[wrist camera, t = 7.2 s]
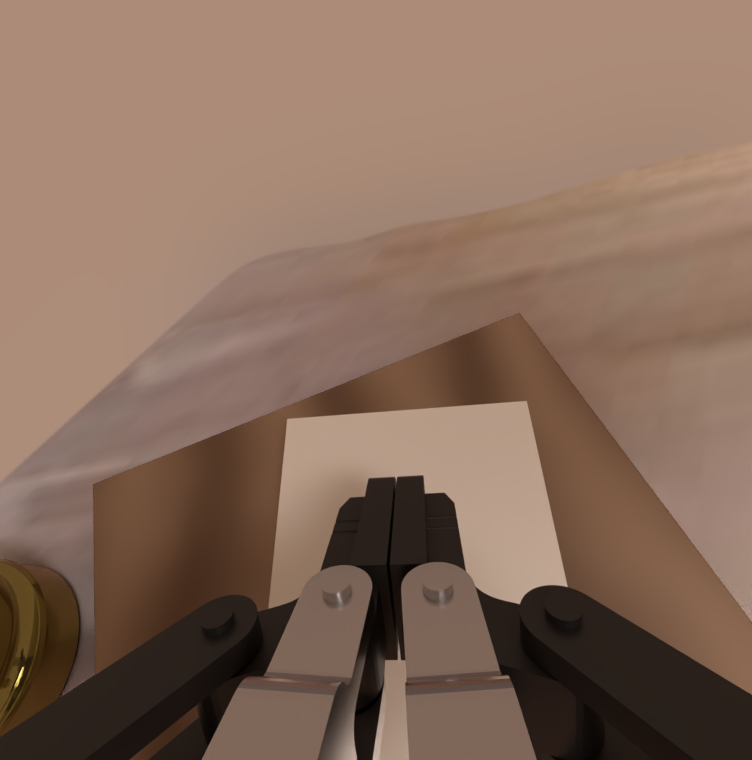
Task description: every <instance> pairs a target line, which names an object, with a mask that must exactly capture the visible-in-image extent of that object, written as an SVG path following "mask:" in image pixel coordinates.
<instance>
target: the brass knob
mask: <svg viewBox="0 0 752 760" xmlns="http://www.w3.org/2000/svg"><path fill="white" fill-rule="evenodd" d="M78 635H79V616H78V609H77V604H76V601H75V597H74V595H73V593H72V590H71V589H70V587H69V585H68V584H67V583H66V581H65V580H64V579H63V578H62V577H61V576H60V575H58V574H57V573H56V572H54V571H52V570H50V569H48V568H45V567H41V566H36V565H28V564H20V563H16V562H13V561H10V560H6V559H0V737H1V736H2V735H4V734H5V733H7V732H8V731H10V730H11V729H13V728H14V727H16V726H18V725H19V724H21V723H22V722H24V721H25V720H27V719H28V718H30V717H31V716H33V715H34V714H36V713H38V712H39V711H41V710H42V709H44V708H45V707H47V706H48V705H50V704H51V703H53V702H54V701H56V700H57V699H58V697H59V695H60V693H61V691H62V689H63V687H64V685H65V683H66V681H67V678H68V675H69V673H70V670H71V667H72V664H73V661H74V657H75V653H76V648H77V643H78Z"/></svg>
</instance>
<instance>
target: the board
mask: <svg viewBox="0 0 752 760" xmlns="http://www.w3.org/2000/svg"><path fill="white" fill-rule="evenodd" d="M519 401H527V404H528V409H529V413H530V418H531V422H532V427H533V432H534V436H535V441H536V445H537V450H538V454H539V459H540V463H541V468H542V472H543V477H544V482H545V486H546V491H547V495H548V500H549V504H550V509H551V513H552V518H553V523H554V527H555V532H556V536H557V541H558V545H559V550H560V554H561V559H562V563H563V568H564V573H565V577H566V582H567V586H568V587H569V588H572V589H575V590H578V591H580V592H582V593H584V594H586V595H588V596H589V597H591V598H593V599H594V600H596V601H598V602H599V603H601V604H603V605H604V606H606V607H608V608H609V609H611V610H613V611H614V612H616V613H617V614H619V615H621V616H622V617H624V618H626V619H627V620H629V621H631V622H632V623H634V624H636V625H637V626H639V627H641V628H642V629H644V630H646V631H647V632H649V633H651V634H652V635H654V636H655V637H657V638H659V639H660V640H662V641H664V642H665V643H667V644H669V645H670V646H672V647H674V648H675V649H677V650H679V651H680V652H682V653H684V654H685V655H687V656H689V657H690V658H692V659H694V660H695V661H697V662H698V663H700V664H702V665H703V666H705V667H707V668H708V669H710V670H712V671H713V672H715V673H717V674H718V675H720V676H722V677H723V678H725V679H727V680H728V681H730V682H732V683H733V684H735V685H736V686H738V687H740V688H741V689H743V690H745V691H746V692H748V693H750V694H751V695H752V622H751V620H750V619H749V618H748V616H747V615H746V614H745V612H744V611H743V610H742V608H741V607H740V606H739V604H738V603H737V602H736V600H735V599H734V598H733V596H732V595H731V594H730V592H729V591H728V590H727V588H726V587H725V586H724V585H723V583H722V582H721V581H720V579H719V578H718V577H717V575H716V574H715V573H714V571H713V570H712V569H711V567H710V566H709V565H708V563H707V562H706V561H705V559H704V558H703V557H702V555H701V554H700V553H699V551H698V550H697V549H696V547H695V546H694V545H693V543H692V542H691V541H690V539H689V538H688V537H687V535H686V534H685V533H684V531H683V530H682V529H681V527H680V526H679V525H678V523H677V522H676V521H675V519H674V518H673V517H672V515H671V514H670V513H669V511H668V510H667V509H666V507H665V506H664V505H663V503H662V502H661V501H660V499H659V498H658V497H657V495H656V494H655V493H654V491H653V490H652V489H651V487H650V486H649V485H648V483H647V482H646V481H645V479H644V478H643V477H642V475H641V474H640V473H639V471H638V470H637V469H636V467H635V466H634V465H633V463H632V462H631V461H630V459H629V458H628V457H627V455H626V454H625V453H624V451H623V450H622V449H621V447H620V446H619V445H618V443H617V442H616V441H615V439H614V438H613V437H612V435H611V434H610V433H609V431H608V430H607V429H606V427H605V426H604V425H603V423H602V422H601V421H600V419H599V418H598V417H597V415H596V414H595V413H594V411H593V410H592V409H591V407H590V406H589V405H588V403H587V402H586V401H585V399H584V398H583V397H582V395H581V394H580V393H579V391H578V390H577V389H576V387H575V386H574V385H573V383H572V382H571V381H570V379H569V378H568V377H567V375H566V374H565V373H564V371H563V370H562V369H561V367H560V366H559V365H558V363H557V362H556V361H555V360H554V358H553V357H552V356H551V354H550V353H549V352H548V350H547V349H546V348H545V346H544V345H543V344H542V342H541V341H540V340H539V338H538V337H537V336H536V334H535V333H534V332H533V330H532V329H531V328H530V326H529V325H528V324H527V322H526V321H525V320H524V318H523V317H522V316H521V314H520V313H518V314H515V315H513V316H511V317H508V318H506V319H503V320H501V321H498V322H496V323H493V324H491V325H488V326H486V327H483V328H481V329H478V330H476V331H473V332H471V333H468V334H466V335H463V336H461V337H458V338H456V339H453V340H451V341H448V342H446V343H443V344H441V345H438V346H436V347H433V348H431V349H429V350H426V351H424V352H421V353H419V354H416V355H414V356H411V357H409V358H406V359H404V360H401V361H399V362H396V363H394V364H391V365H389V366H386V367H384V368H381V369H379V370H376V371H374V372H371V373H369V374H366V375H364V376H361V377H359V378H356V379H354V380H351V381H349V382H347V383H344V384H342V385H339V386H337V387H334V388H332V389H329V390H327V391H324V392H322V393H319V394H317V395H314V396H312V397H309V398H307V399H304V400H302V401H299V402H297V403H294V404H292V405H289V406H287V407H284V408H282V409H279V410H277V411H274V412H272V413H269V414H267V415H265V416H262V417H260V418H257V419H255V420H252V421H250V422H247V423H245V424H242V425H240V426H237V427H235V428H232V429H230V430H227V431H225V432H222V433H220V434H217V435H215V436H212V437H210V438H207V439H205V440H202V441H200V442H197V443H195V444H192V445H190V446H187V447H185V448H183V449H180V450H178V451H175V452H173V453H170V454H168V455H165V456H163V457H160V458H158V459H155V460H153V461H150V462H148V463H145V464H143V465H140V466H138V467H135V468H133V469H130V470H128V471H125V472H123V473H120V474H118V475H115V476H113V477H110V478H108V479H105V480H103V481H101V482H98V483H96V484H93V507H94V616H95V675H96V674H98V673H99V672H101V671H102V670H104V669H105V668H107V667H108V666H110V665H111V664H113V663H114V662H116V661H118V660H119V659H121V658H122V657H124V656H125V655H127V654H128V653H130V652H131V651H133V650H134V649H136V648H138V647H139V646H141V645H142V644H144V643H145V642H147V641H148V640H150V639H151V638H153V637H154V636H156V635H158V634H159V633H161V632H162V631H164V630H165V629H167V628H168V627H170V626H171V625H173V624H174V623H176V622H178V621H179V620H181V619H182V618H184V617H185V616H187V615H188V614H190V613H191V612H193V611H194V610H196V609H198V608H199V607H201V606H202V605H204V604H206V603H207V602H209V601H211V600H214V599H216V598H219V597H222V596H227V595H243V596H246V597H249V598H250V599H252V600H253V601H254V602H255V604H256V606H257V610H258V612H259V611H262V610H266V609H268V607H269V597H270V587H271V577H272V567H273V557H274V547H275V537H276V527H277V517H278V507H279V497H280V487H281V477H282V467H283V457H284V447H285V437H286V427H287V419H293V418H306V417H319V416H333V415H346V414H359V413H373V412H386V411H399V410H413V409H426V408H439V407H453V406H466V405H479V404H492V403H506V402H519ZM197 718H199V716H198V713H197V709H196V706H195V707H194V708H192V709H191V710H190V711H189V712H187V713H186V714H185V715H184V716H182V717H181V718H180V719H179V720H178V721H176V722H175V723H174V724H173V725H171V726H170V727H169V728H168V729H166V730H165V731H164V732H163V733H162V734H160V735H159V736H158V737H157V738H155V739H154V740H153V741H152V742H150V743H149V744H148V745H147V746H146V747H144V748H143V749H142V750H141V751H139V752H138V753H137V754H136V755H134V756H133V757H132V758H131V759H130V760H148V759H150V758H151V757H152V756H153V755H154V754H156V753H157V752H158V751H159V750H160V749H162V748H163V747H164V746H165V745H166V744H168V743H169V742H170V741H171V740H172V739H174V738H175V737H176V736H177V735H178V734H180V733H181V732H182V731H183V730H184V729H185V728H187V727H188V726H189V725H190V724H191V723H193V722H194V721H195V720H196V719H197Z"/></svg>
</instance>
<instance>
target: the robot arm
mask: <svg viewBox="0 0 752 760" xmlns="http://www.w3.org/2000/svg"><path fill="white" fill-rule="evenodd" d="M332 532H333V533H332V534H331V538H330V541H329V544H328V547H327V551H326V554H325V557H324V560H323V564H322V567H321V570H320V572H318V573H317V574H315V575H314V576H313V577H312V578H310V579H309V580H308V582H307V583H306V584H305V586H304V588H303V590H302V592H301V594H300V597H299V598H297V599H295V600H293V601H291V602H289V603H286V604H283V605H280V606H277V607H273V608H269V609H266V610H262V611H259V612H258V610H257V606H256V604H255V602H254V601H253V600H252V599H250V598H249V597H246V596H243V595H227V596H222V597H219V598H216V599H214V600H211V601H209V602H207V603H206V604H204V605H202V606H201V607H199V608H198V609H196V610H194V611H193V612H191V613H190V614H188V615H187V616H185V617H184V618H182V619H181V620H179V621H178V622H176V623H174V624H173V625H171V626H170V627H168V628H167V629H165V630H164V631H162V632H161V633H159V634H158V635H156V636H154V637H153V638H151V639H150V640H148V641H147V642H145V643H144V644H142V645H141V646H139V647H138V648H136V649H134V650H133V651H131V652H130V653H128V654H127V655H125V656H124V657H122V658H121V659H119V660H118V661H116V662H114V663H113V664H111V665H110V666H108V667H107V668H105V669H104V670H102V671H101V672H99V673H98V674H96V675H94V676H93V677H91V678H90V679H88V680H87V681H85V682H84V683H82V684H81V685H79V686H78V687H76V688H74V689H73V690H71V691H70V692H68V693H67V694H65V695H64V696H62V697H61V698H59V699H58V700H56V701H54V702H53V703H51V704H50V705H48V706H47V707H45V708H44V709H42V710H41V711H39V712H38V713H36V714H34V715H33V716H31V717H30V718H28V719H27V720H25V721H24V722H22V723H21V724H19V725H18V726H16V727H14V728H13V729H11V730H10V731H8V732H7V733H5V734H4V735H2V736H1V737H0V760H130V759H131V758H132V757H133V756H134V755H136V754H137V753H138V752H139V751H141V750H142V749H143V748H144V747H146V746H147V745H148V744H149V743H150V742H152V741H153V740H154V739H155V738H157V737H158V736H159V735H160V734H162V733H163V732H164V731H165V730H166V729H168V728H169V727H170V726H171V725H173V724H174V723H175V722H176V721H178V720H179V719H180V718H181V717H182V716H184V715H185V714H186V713H187V712H189V711H190V710H191V709H192V708H194V707H195V706H196V709H197V713H198V716H199V718H197V719H196V720H195V721H194V722H193V723H191V724H190V725H189V726H188V727H187V728H185V729H184V730H183V731H182V732H181V733H180V734H178V735H177V736H176V737H175V738H174V739H172V740H171V741H170V742H169V743H168V744H166V745H165V746H164V747H163V748H162V749H160V750H159V751H158V752H157V753H156V754H154V755H153V756H152V757H151V758H150V759H148V760H379V755H380V748H381V740H382V733H383V726H384V718H385V711H386V704H387V692H386V684H385V677H384V673H385V660H398V645H399V647H400V656H401V660H405V662H406V680H407V682H405V694H406V713H407V731H408V749H409V760H752V695H751V694H750V693H748V692H746V691H745V690H743V689H741V688H740V687H738V686H736V685H735V684H733V683H732V682H730V681H728V680H727V679H725V678H723V677H722V676H720V675H718V674H717V673H715V672H713V671H712V670H710V669H708V668H707V667H705V666H703V665H702V664H700V663H698V662H697V661H695V660H694V659H692V658H690V657H689V656H687V655H685V654H684V653H682V652H680V651H679V650H677V649H675V648H674V647H672V646H670V645H669V644H667V643H665V642H664V641H662V640H660V639H659V638H657V637H655V636H654V635H652V634H651V633H649V632H647V631H646V630H644V629H642V628H641V627H639V626H637V625H636V624H634V623H632V622H631V621H629V620H627V619H626V618H624V617H622V616H621V615H619V614H617V613H616V612H614V611H613V610H611V609H609V608H608V607H606V606H604V605H603V604H601V603H599V602H598V601H596V600H594V599H593V598H591V597H589V596H588V595H586V594H584V593H582V592H580V591H578V590H575V589H572V588H569V587H565V586H559V585H545V586H540V587H537V588H534V589H532V590H530V591H529V592H527V593H526V594H525V595H524V597H523V598H522V600H521V602H520V604H517V603H513V602H508V601H504V600H500V599H497V598H494V597H492V596H489V595H487V594H485V593H484V592H482V591H481V590H479V589H478V588H477V587H476V586H475V584H474V582H473V579H472V578H471V576H470V575H469V574H468V573H467V572H466V568H465V562H464V557H463V551H462V545H461V539H460V533H459V528H458V521H457V515H456V509H455V503H454V502H453V501H452V500H451V499H450V498H449V497H448V496H447V495H446V494H445V493H426V494H425V485H424V476H423V475H417V476H399V477H397V482H396V478H395V477H380V478H369V479H368V483H367V488H366V492H365V497H350V498H349V499H348V500H347V501H346V502H345V503H344V504H343V505H342V506H341V507H340V509H339V512H338V515H337V518H336V523H335V525H334V528H333V531H332Z"/></svg>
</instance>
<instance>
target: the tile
mask: <svg viewBox="0 0 752 760" xmlns="http://www.w3.org/2000/svg"><path fill="white" fill-rule="evenodd" d="M417 475H423V476H424V485H425V494H426V493H445V494H446V495H447V496H448V497H449V498H450V499H451V500H452V501H453V502H454V503H455V509H456V515H457V521H458V528H459V533H460V539H461V545H462V551H463V557H464V562H465V568H466V572H467V573H468V574H469V575H470V576H471V578H472V579H473V582H474V584H475V586H476V587H477V588H478V589H479V590H481V591H482V592H484V593H485V594H487V595H489V596H492V597H494V598H497V599H500V600H504V601H508V602H513V603H517V604H520V602H521V600H522V598H523V597H524V595H525V594H526V593H527V592H529V591H530V590H532V589H534V588H537V587H540V586H545V585H559V586H565V587H568V586H567V582H566V577H565V573H564V568H563V563H562V559H561V554H560V550H559V545H558V541H557V536H556V532H555V527H554V523H553V518H552V513H551V509H550V504H549V500H548V495H547V491H546V486H545V482H544V477H543V472H542V468H541V463H540V459H539V454H538V450H537V445H536V441H535V436H534V432H533V427H532V422H531V418H530V413H529V409H528V404H527V401H519V402H506V403H492V404H479V405H466V406H453V407H439V408H426V409H413V410H399V411H386V412H373V413H359V414H346V415H333V416H319V417H306V418H293V419H287V427H286V437H285V447H284V457H283V467H282V477H281V487H280V497H279V507H278V517H277V527H276V537H275V547H274V557H273V567H272V577H271V587H270V597H269V607H268V609H269V608H273V607H277V606H280V605H283V604H286V603H289V602H291V601H293V600H295V599H297V598H299V597H300V594H301V592H302V590H303V588H304V586H305V584H306V583H307V582H308V580H309V579H310V578H312V577H313V576H314V575H315V574H317V573H318V572H320V570H321V567H322V564H323V560H324V557H325V554H326V551H327V547H328V544H329V541H330V538H331V534H332V533H333V532H332V531H333V528H334V525H335V523H336V518H337V515H338V512H339V509H340V507H341V506H342V505H343V504H344V503H345V502H346V501H347V500H348V499H349V498H350V497H365V492H366V488H367V483H368V479H369V478H380V477H395V478H396V482H397V477H399V476H417ZM384 677H385V684H386V692H387V704H386V711H385V718H384V726H383V733H382V740H381V748H380V755H379V760H409V749H408V731H407V713H406V694H405V682H407V680H406V662H405V660H401V656H400V647H399V645H398V660H385V673H384Z"/></svg>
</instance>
